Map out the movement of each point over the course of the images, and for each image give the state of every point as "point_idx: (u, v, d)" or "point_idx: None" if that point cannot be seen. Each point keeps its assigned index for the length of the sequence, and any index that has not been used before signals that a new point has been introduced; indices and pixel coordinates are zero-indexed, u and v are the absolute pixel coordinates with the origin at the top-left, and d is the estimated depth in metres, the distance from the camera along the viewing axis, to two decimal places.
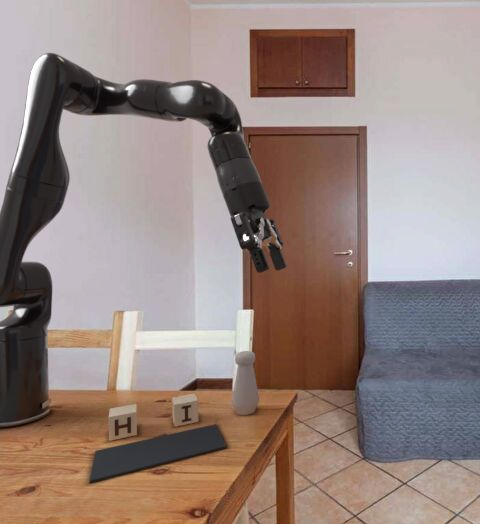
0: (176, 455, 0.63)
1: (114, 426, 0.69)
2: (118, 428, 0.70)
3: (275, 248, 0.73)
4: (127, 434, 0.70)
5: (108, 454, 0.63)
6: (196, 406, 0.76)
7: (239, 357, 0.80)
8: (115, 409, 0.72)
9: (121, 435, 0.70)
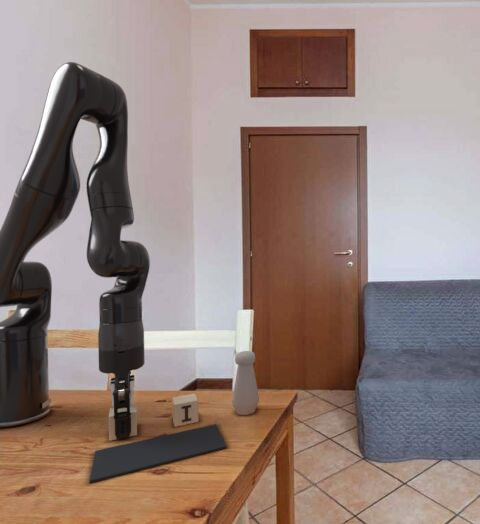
0: (176, 455, 0.63)
1: (114, 426, 0.69)
2: None
3: None
4: None
5: (108, 454, 0.63)
6: (196, 406, 0.76)
7: (239, 357, 0.80)
8: None
9: None
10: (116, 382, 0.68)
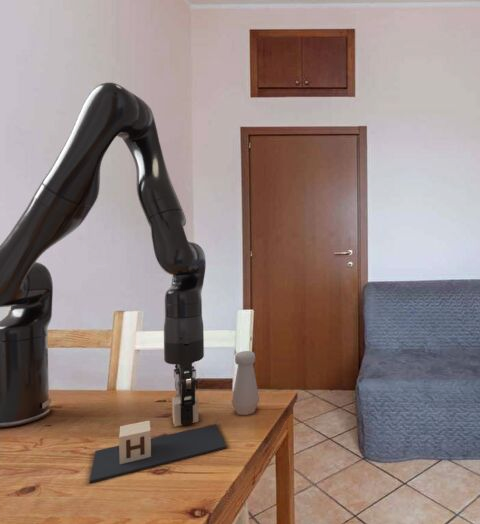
0: (176, 455, 0.63)
1: (125, 447, 0.61)
2: (130, 450, 0.61)
3: None
4: (140, 456, 0.62)
5: (108, 454, 0.63)
6: (196, 406, 0.76)
7: (239, 357, 0.80)
8: (126, 427, 0.64)
9: (133, 457, 0.61)
10: (182, 372, 0.73)
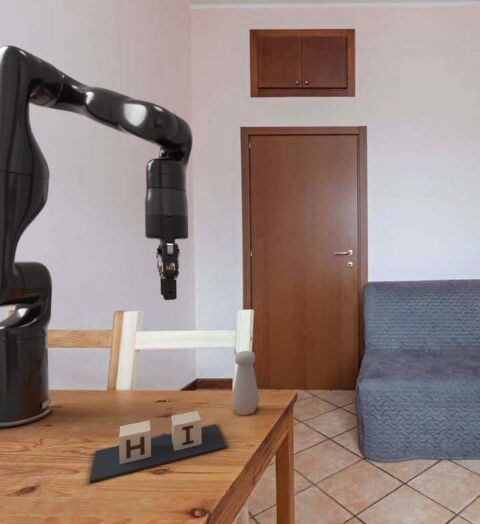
0: (176, 455, 0.63)
1: (125, 447, 0.61)
2: (130, 450, 0.61)
3: None
4: (140, 456, 0.62)
5: (108, 454, 0.63)
6: (199, 426, 0.66)
7: (239, 357, 0.80)
8: (126, 427, 0.64)
9: (133, 457, 0.61)
10: None
